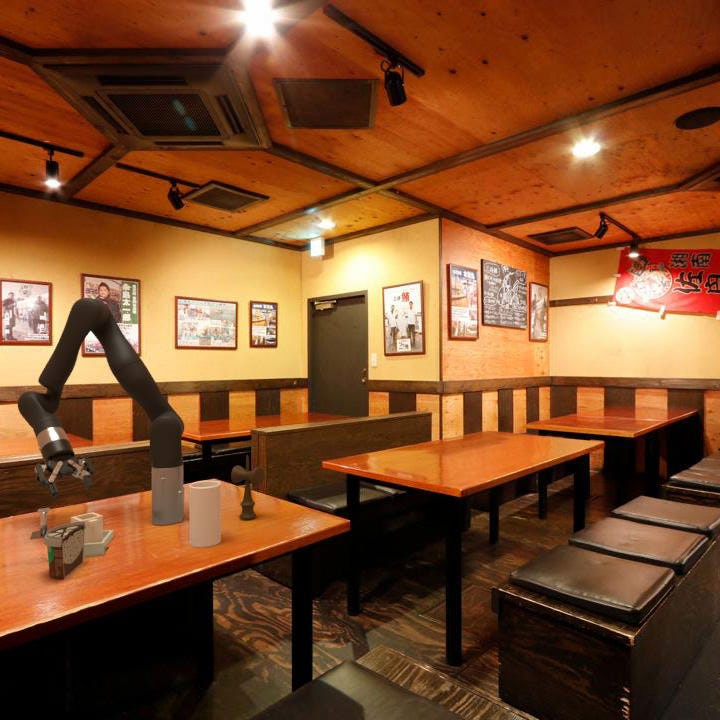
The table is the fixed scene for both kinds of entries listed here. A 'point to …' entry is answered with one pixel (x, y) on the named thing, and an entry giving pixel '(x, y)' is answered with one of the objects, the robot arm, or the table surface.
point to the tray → (98, 545)
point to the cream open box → (91, 526)
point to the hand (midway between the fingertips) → (73, 492)
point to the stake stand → (43, 525)
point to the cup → (205, 513)
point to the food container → (65, 548)
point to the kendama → (247, 487)
